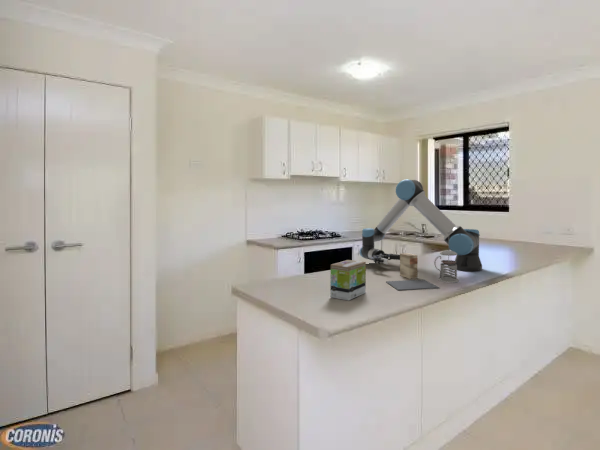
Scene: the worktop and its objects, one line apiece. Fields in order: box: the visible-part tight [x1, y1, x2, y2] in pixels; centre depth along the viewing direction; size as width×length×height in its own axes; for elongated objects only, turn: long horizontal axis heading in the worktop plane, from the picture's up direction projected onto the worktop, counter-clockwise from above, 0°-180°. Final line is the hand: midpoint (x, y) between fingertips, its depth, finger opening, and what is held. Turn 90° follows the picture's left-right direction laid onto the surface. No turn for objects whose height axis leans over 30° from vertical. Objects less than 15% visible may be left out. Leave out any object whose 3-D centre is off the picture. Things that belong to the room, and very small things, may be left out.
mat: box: [385, 278, 440, 291], centre depth 176 cm, size 20×16×1 cm
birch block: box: [399, 252, 419, 279], centre depth 193 cm, size 5×8×12 cm, turn 21°
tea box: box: [329, 259, 367, 301], centre depth 161 cm, size 15×10×15 cm, turn 143°
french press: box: [433, 231, 460, 284], centre depth 183 cm, size 10×12×25 cm
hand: (398, 260), depth 202 cm, fingers open, 13 cm apart
